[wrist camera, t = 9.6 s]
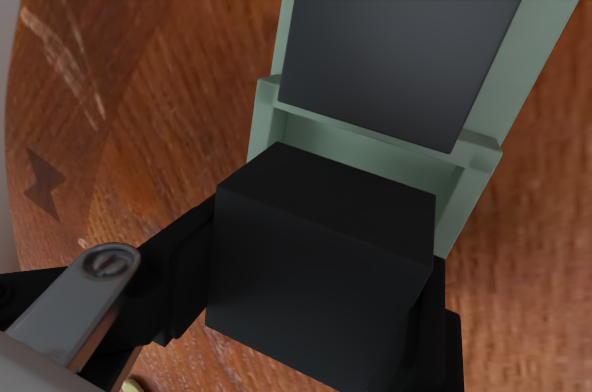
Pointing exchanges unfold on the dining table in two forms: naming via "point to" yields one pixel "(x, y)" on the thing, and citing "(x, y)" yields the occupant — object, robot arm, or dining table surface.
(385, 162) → the dock mat
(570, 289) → the dining table surface
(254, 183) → the loose pad
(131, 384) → the knife
